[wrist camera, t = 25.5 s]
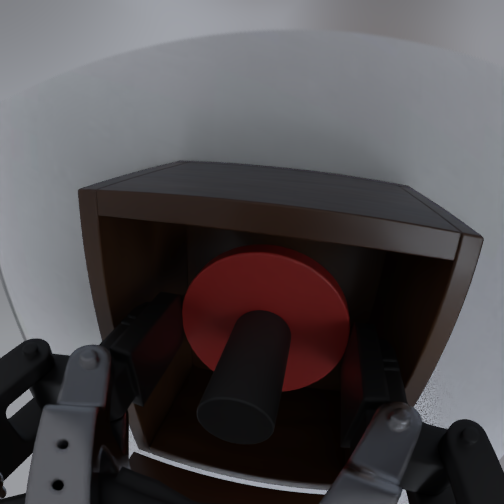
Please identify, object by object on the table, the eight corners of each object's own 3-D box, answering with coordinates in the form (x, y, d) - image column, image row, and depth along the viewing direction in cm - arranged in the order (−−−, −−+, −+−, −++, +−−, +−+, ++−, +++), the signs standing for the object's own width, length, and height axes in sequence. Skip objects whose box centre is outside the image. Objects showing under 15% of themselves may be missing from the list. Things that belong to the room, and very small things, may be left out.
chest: (179, 160, 15) (76, 189, 8) (409, 185, 13) (485, 237, 6) (186, 364, 20) (138, 449, 13) (353, 391, 19) (354, 491, 11)
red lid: (181, 238, 11) (99, 308, 6) (359, 249, 10) (386, 343, 5) (197, 368, 13) (153, 453, 8) (336, 384, 12) (332, 484, 7)
